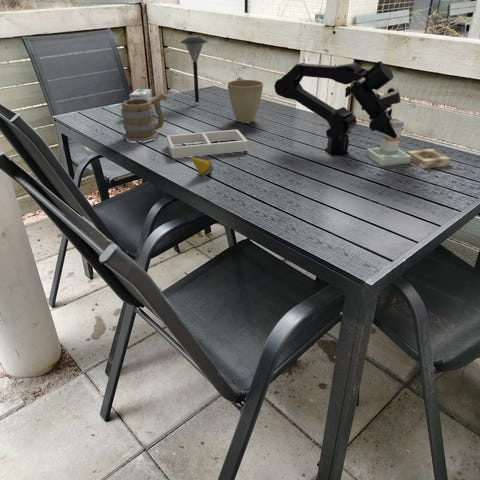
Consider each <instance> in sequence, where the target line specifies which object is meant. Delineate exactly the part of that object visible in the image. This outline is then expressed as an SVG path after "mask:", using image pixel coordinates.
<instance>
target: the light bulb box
mask: <svg viewBox="0 0 480 480" xmlns="http://www.w3.org/2000/svg"><path fill="white" fill-rule="evenodd" d="M128 96H129V100H130V99H147V100H153V97H152V89H151V88H149V89H147V88H137V89H135V90H134V91H133V92H131V93H129V95H128ZM153 105H154V104H153ZM153 105H152V107H154V106H153Z"/></svg>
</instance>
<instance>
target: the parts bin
mask: <svg viewBox="0 0 480 480" xmlns="http://www.w3.org/2000/svg"><path fill="white" fill-rule="evenodd" d="M233 139H236V140H237V141H228V142H217V143H211V142H210V141H222V140H233ZM194 142H203V144H196V145H185V146H174V145H173V144H182V143H194ZM166 143H167V145H168V146H167V148H168V147H169V149H168V151H169V150H170V151H169V154H170V153H171V154H170V156H171V155H172V156H171V159H172V158H178V157H188V156H199V155H209V154H218V153H230V152H241V153H244V152H243V151H248V150H249V147H248V146H249V144H248V143H249V141H248V140H247V138H246V137H245V136H244V135H243V134H242V133H241V131H240V130H239V129H229V130H227V129H226V130H217V131H205V132H194V133H184V134H183V133H182V134H171V135H170V134H169V135H166Z"/></svg>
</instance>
